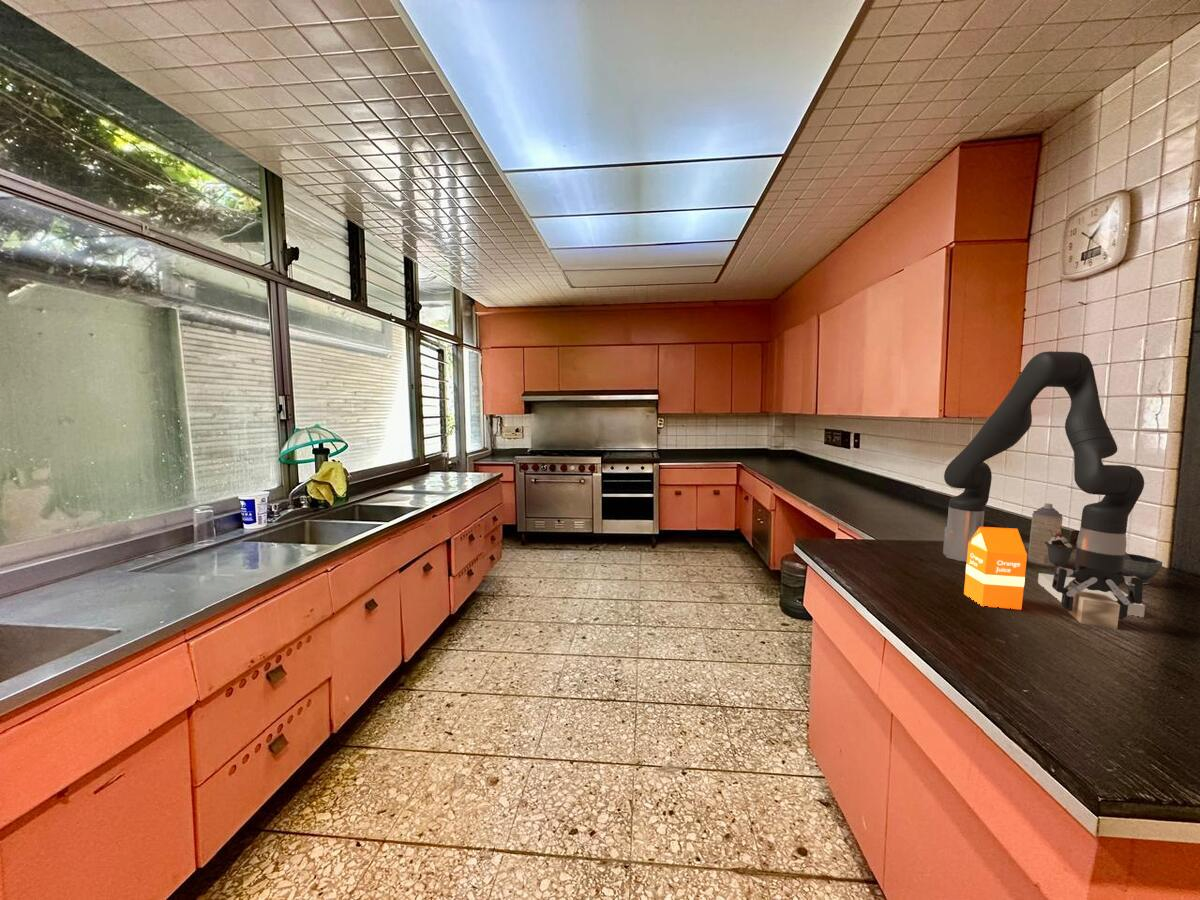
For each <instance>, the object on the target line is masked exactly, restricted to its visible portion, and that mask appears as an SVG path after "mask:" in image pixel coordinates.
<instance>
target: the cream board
mask: <svg viewBox="0 0 1200 900" xmlns="http://www.w3.org/2000/svg"><path fill="white" fill-rule="evenodd" d="M1037 577H1038V578H1037V583H1038V584H1039V585H1040V587H1042V588H1043V587H1044V588H1043V589H1045V591H1047V592H1048V593H1049V594H1051V596H1053V597H1055V599H1056V598H1057V601H1059V602H1060V603H1061V601H1062V593H1060V592H1057V591H1056V590H1055V589H1054V588H1053V587H1052V583H1053V578H1054V575H1050V574H1046V573H1042V572H1041V573H1040V572H1039V573H1038V576H1037ZM1073 579H1075V577H1074V576H1073V577H1071V576H1069V577H1067V578H1066V580H1065V585H1064V587H1065V586H1067V585H1068V584H1069V582H1071V581H1072V580H1073ZM1121 591H1122V592H1123V594H1124V595H1125V596H1128V593H1125V592H1124V591H1123V590H1121ZM1083 592H1090V593H1097V594H1104V595H1107V596H1108V597H1110V598H1111V599H1112V600H1114V601H1117V599H1116V597H1115V596H1114V595H1113V594H1112V593H1111V592H1110V591H1107V592H1102V591H1099V590H1088V589H1087V588H1085V589H1084V590H1083ZM1145 609H1146V605H1145V604H1143V602H1142V603H1141V604H1136V603H1133V604H1129V605H1128V612H1127V614H1128V615H1127V616H1131V615H1134V616H1133V617H1137V616H1139V617H1140V618H1145ZM1139 617H1138V618H1139Z"/></svg>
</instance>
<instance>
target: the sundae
mask: <svg viewBox="0 0 1200 900" xmlns="http://www.w3.org/2000/svg"><path fill="white" fill-rule="evenodd" d="M1060 529H1061V531H1060V532H1061V534H1060V532H1059V533H1056V535H1055V536H1053V537H1052V538H1051V540H1049V541H1046V542H1044V543H1045V544H1046V545H1047V547H1048V557H1049V560H1050V562H1051V563H1053V564H1054V565H1055V567H1054V569H1053V572H1046V573H1045V574H1050V575H1054V573H1055V568H1056V566H1061V567H1063V566H1066V565H1068V563H1069V561H1070V558H1071V555H1072V552H1073V550H1076V549H1077V545H1074V544H1072V543H1070V541H1069V539H1067V537H1066V536H1065V535H1064V533H1063V530H1062V528H1061V527H1060Z"/></svg>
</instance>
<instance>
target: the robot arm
mask: <svg viewBox="0 0 1200 900" xmlns="http://www.w3.org/2000/svg"><path fill="white" fill-rule="evenodd" d="M1094 371H1095V370H1094V367H1093V363H1092V361H1091V359H1090V358H1089V357H1088V356H1087V355H1086V354H1085V353H1083V352H1078V351H1053V350H1052V351H1050V350H1049V351H1043V352H1038V354H1036V355H1034V356H1033V357H1032V358H1031V359H1030V360H1029V361H1028V362H1027V364H1026V365H1025V367H1024V368H1023V370H1022V371H1021V373H1020V375H1019V376H1018V377H1017V379H1016V380H1015V382H1014V384H1013V386H1012V388H1011V389H1010V390H1009V392H1008V393H1007V395H1006V396H1005V398H1004V399H1003V400H1002V401H1001V403H1000V404H999V406H998V407H997V408H996V410H995V411H994V412H993V413H992V414H991V415H990V416H989V417H988V419H987V420H986V421H985V423H984V424H983V425H982V427H981V428H980V430H979V431H978V432H977V433H976V434H975V435H974V437H973V438H972V440H970V442H969V443H968V444H967V445H966V447H964V448H963V450H962V451H960V452H959V453H958V455H956V456H955V457H954V458H953V459H952V460H951V461H949V464H948V465H947V466H946V468H945V471H944V472H943V473H944V474H943V478H944V482H945V484H946V485H947V486H949V487H951V488H954V489H959V490H961V489H964V490H963V492H961V493H960V494H958V495H956V496H955V495H954V496H953V497H951V498H950V499H949V500H948V513H947V521H946V522H947V523H946V524H947V525H946V526H945V527H944V536H943V548H942V554H943V555H944V556H945V558H946V559H950V560H955V561H959V562H964V563H967V553H968V543H969V541H970V540H971V539H972V537H973V536H974V534H975V533H976V531H977V530H978V529H979V527H984V521H985V520H984V519H985V518H984V517H985V510H986V509H985V508H986V505H987V504H988V503H989V498H990V491H991V485H992V481H993V479H992V471H991V470H992V469H991V467H990V466H989V464H988V463H986V462H985V461H988V460H989V459H990V458H993V457H995V456H997V455H998V454H1001V453H1003V452H1005V451H1007V450H1008V449H1010V448H1012V447H1013V446H1015V445H1016V444H1017V443H1018V442H1019V441H1020V440H1021V439H1022V438H1023V437H1024V435H1026V434H1027V432H1028V431H1029V430H1030V428H1031V426H1032V423H1033V415H1032V404H1033V402H1034V400H1035V399H1036V398H1037V396H1038V395H1039V394H1040V393H1041V392H1042V391H1043V390H1044V389H1045V388H1049V387H1050V388H1064V389H1065V391H1066V393H1067V394H1068V395H1069V398H1070V399H1069V400H1070V408H1069V411H1068V414H1067V416H1066V419H1065V423H1064V430H1065V435H1066V437H1067V440H1068V442H1069V444H1070V447H1071V449H1072V451H1073V462H1074V463H1073V466H1074V467H1073V468H1074V472H1073V473H1074V474H1073V475H1074V478H1073V479H1074V482H1075V484H1076V486H1077V487H1078V488H1079V489H1080V490H1081V491H1082V492H1084V493H1086V494H1088V495H1095V496H1103V498H1102V499H1101V500H1100V501H1098V502H1094V503H1088V504H1086V505H1084V507H1083V508H1082V511H1081V512H1082V513H1081V520H1080V529H1079V532H1078V536H1077V540H1076V547H1077V549H1075V550H1076V551H1075V556H1074V558H1075V559H1074V566H1073V568H1072V569H1071V568H1068V567H1067V568H1065V567H1063V566H1056V568H1055V567H1054V569H1055V573H1054V578H1053V583H1052V587H1053V588H1054V589H1055V590H1056V591H1057V592H1060V593H1062V601H1061V602H1060V604H1061V606H1062V607H1063V608H1064V609H1065V610H1066V611H1067V612H1068V611H1072V609H1073V600H1074V597H1073V595H1075V594H1076V593H1077V592H1080V591H1083V590H1084V589H1085V588H1087V589H1088V590H1099V591H1102V592H1107V591H1110V592H1111V593H1112V594H1113V595H1114V596H1115V597H1116V599H1117V601H1115V602H1117V603H1118V604H1120V611H1119V618H1118V620H1124V618H1125V619H1126V618H1127V616H1128V615H1127V612H1128V605H1129V604H1133V603H1136V604H1141V603H1142V604H1143V589H1144V588H1143V587H1144V585H1143V581H1142V580H1141V579H1140V578H1138V577H1136V576H1134V575H1130V576H1123V574H1122V572H1123V568H1124V560H1125V552H1126V553H1127V529H1128V522H1129V520H1128V519H1129V515H1130V514H1131V512H1132V511H1133V510H1134V507H1135V506H1136V503H1137V502H1138V500H1139V499H1140V496H1141V495H1142V493H1143V490H1144V487H1145V479H1144V476H1143V474H1142V472H1141V471H1140V470H1139V469H1138V468H1136V467H1135V466H1131V465H1123V464H1104V463H1103V462H1102V460H1103V459H1106V458H1109V457H1112V456H1114V455H1115V454H1116V453H1117V452H1118V445H1117V443H1116V441H1115V438H1114V436H1113V434H1112V433H1111V431H1110V427H1109V426H1108V424H1107V422H1106V418H1105V417H1104V414H1103V411H1102V405H1101V401H1100V396H1099V391H1098V386H1097V380H1096V376H1095V372H1094ZM1071 575H1072V576H1073V578H1075V579H1073V580H1072V581H1071V582H1069V584H1068V585H1067V586H1065V587H1064V585H1065V580H1066V578H1067V577H1070V576H1071ZM1124 582H1125V584H1126V585H1128V589H1127V590H1128V592H1127V595H1128V596H1125V595H1124V594H1123V592H1124V591H1123V590H1121V589H1120V588H1119V586H1120V585H1122V584H1123V583H1124ZM1122 591H1123V592H1122Z"/></svg>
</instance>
